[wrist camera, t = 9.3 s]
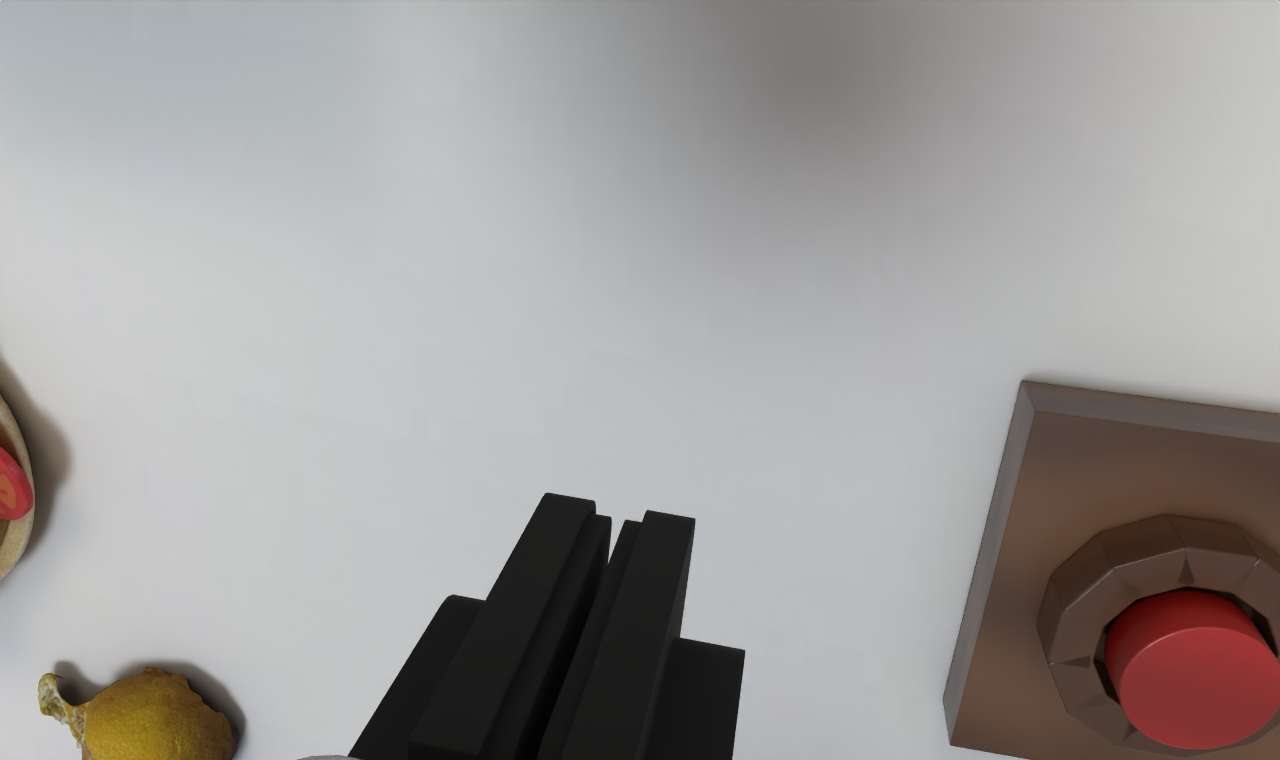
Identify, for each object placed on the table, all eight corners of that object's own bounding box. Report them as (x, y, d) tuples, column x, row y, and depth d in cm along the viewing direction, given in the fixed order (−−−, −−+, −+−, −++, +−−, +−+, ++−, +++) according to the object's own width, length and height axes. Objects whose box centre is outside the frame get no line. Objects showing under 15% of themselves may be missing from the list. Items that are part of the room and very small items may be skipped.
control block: (1021, 380, 30) (1048, 439, 26) (1386, 427, 28) (1468, 497, 25) (942, 700, 34) (956, 788, 31) (1251, 752, 33) (1304, 851, 29)
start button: (1124, 578, 28) (1142, 616, 26) (1279, 601, 27) (1307, 641, 25) (1087, 693, 29) (1102, 735, 28) (1232, 717, 29) (1257, 762, 27)
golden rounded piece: (26, 678, 42) (-43, 742, 38) (168, 616, 39) (107, 678, 36) (148, 822, 44) (93, 894, 40) (291, 772, 41) (244, 844, 38)
